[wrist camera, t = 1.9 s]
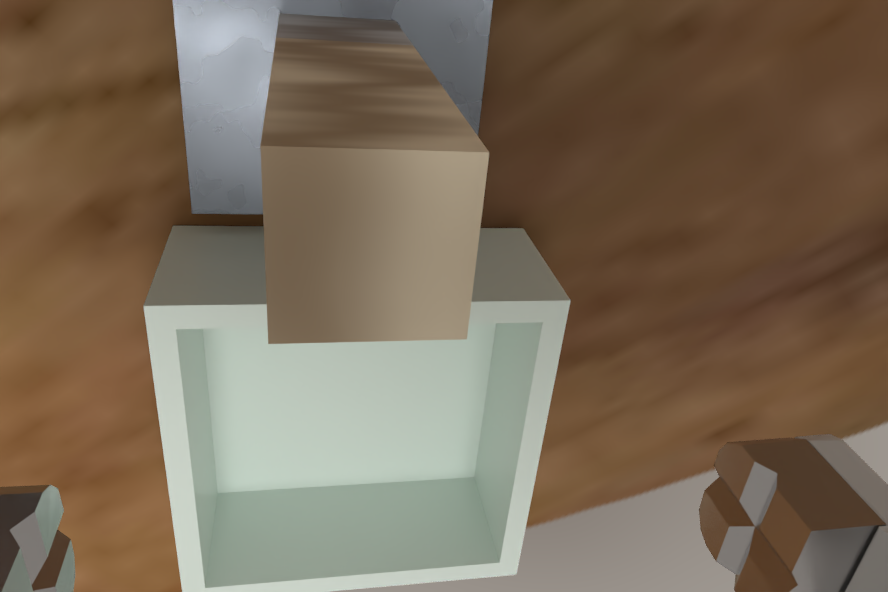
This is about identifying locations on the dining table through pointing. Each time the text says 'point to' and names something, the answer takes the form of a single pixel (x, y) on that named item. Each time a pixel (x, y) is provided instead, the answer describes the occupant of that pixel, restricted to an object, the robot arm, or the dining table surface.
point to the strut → (365, 189)
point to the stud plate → (249, 69)
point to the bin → (347, 426)
